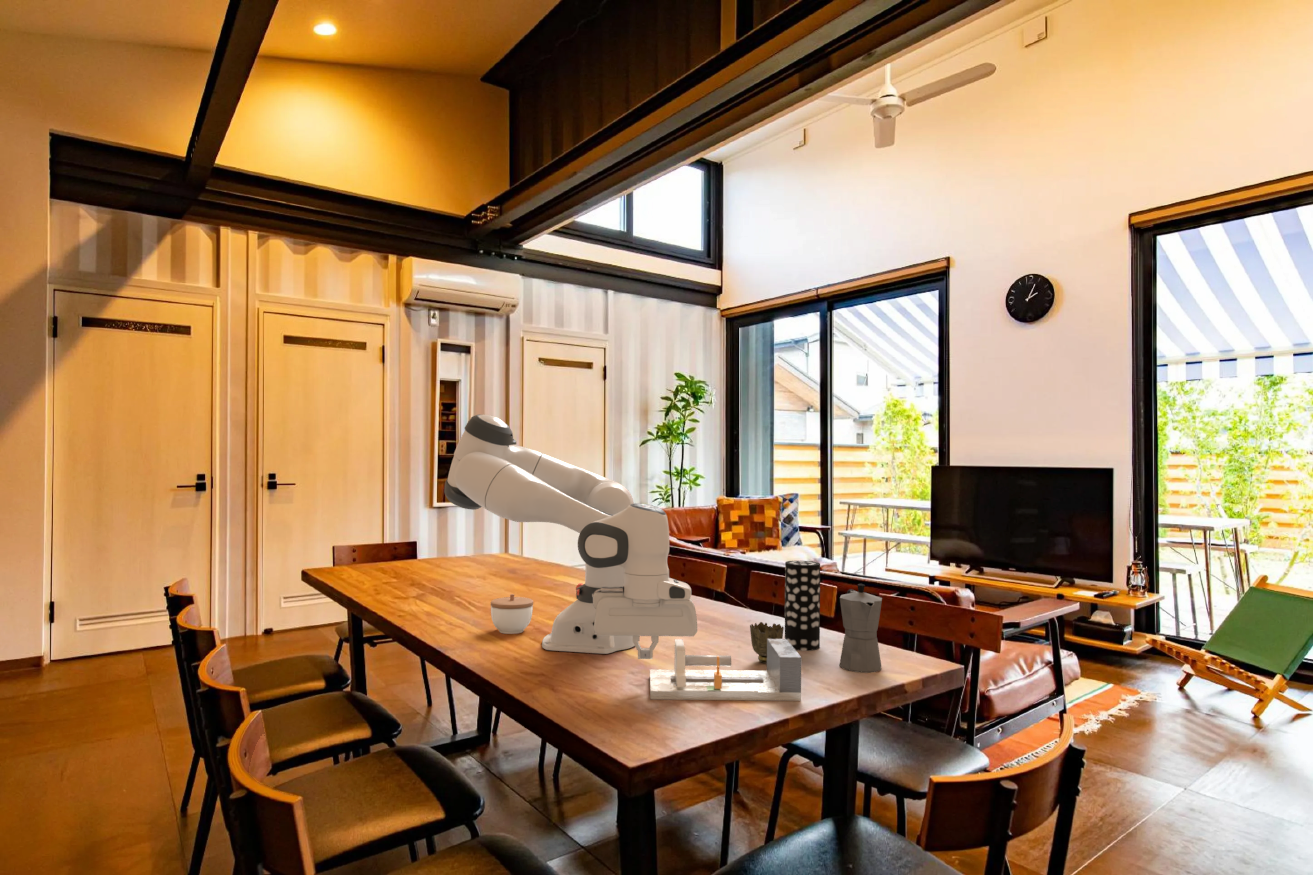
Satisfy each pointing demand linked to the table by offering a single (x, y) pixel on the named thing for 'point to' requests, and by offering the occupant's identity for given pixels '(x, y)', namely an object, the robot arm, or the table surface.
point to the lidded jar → (511, 614)
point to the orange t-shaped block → (717, 677)
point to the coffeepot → (860, 631)
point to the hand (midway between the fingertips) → (645, 658)
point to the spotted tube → (802, 604)
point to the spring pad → (693, 662)
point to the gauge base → (737, 680)
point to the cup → (764, 638)
